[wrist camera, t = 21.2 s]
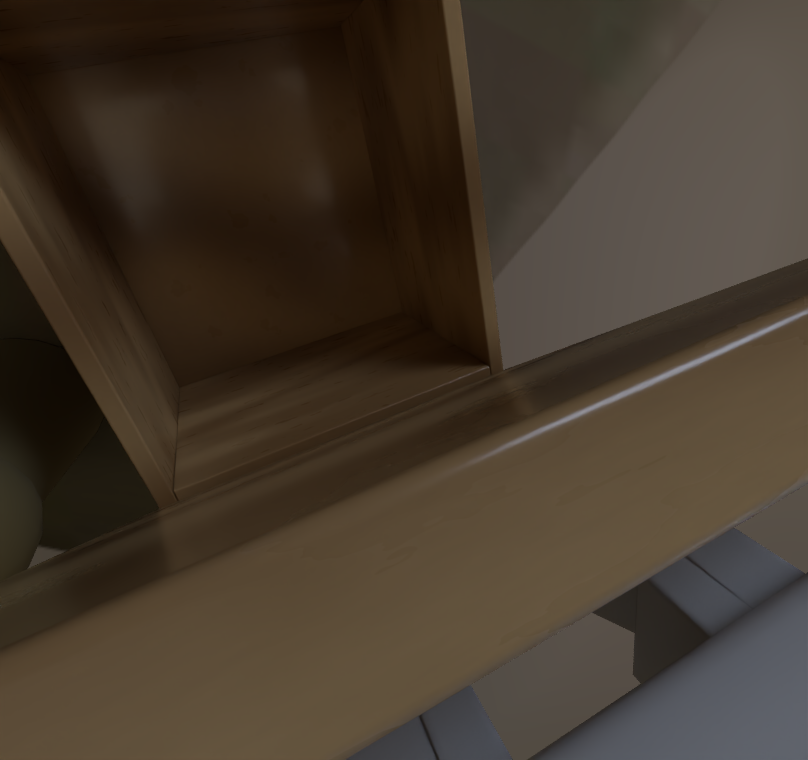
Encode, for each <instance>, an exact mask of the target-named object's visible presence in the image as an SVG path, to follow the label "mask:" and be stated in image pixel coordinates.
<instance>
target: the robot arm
mask: <svg viewBox="0 0 808 760" xmlns="http://www.w3.org/2000/svg"><path fill="white" fill-rule="evenodd" d="M592 613H594V614H596V615H598V616H600V617H602V618H605V619H607V620H609V621H611V622H613V623H615V624H617V625H619V626H621V627H623V628H625V629H628V630H630V631H632V632H634V633H635V640H634V663H633V664H634V665H633V675H634V676H635V677H636V678H637V680H638V681H639V682H640V683H641V684H640V685H639V686H637V687H636V688H634V689H632V690H631V691H629V692H628V693H626V694H625V695H624V696H622V697H620V698H619V699H618V700H616V701H615V702H613V703H611V704H610V705H608V706H607V707H605V708H604V709H602V710H601V711H600V712H598V713H597V714H595V715H594V716H592V717H591V718H589V719H588V720H586V721H585V722H583V723H582V724H580V725H579V726H577V727H576V728H574V729H573V730H571V731H570V732H568V733H567V734H565V735H564V736H562V737H561V738H559V739H558V740H557V741H555V742H553V743H552V744H550V745H549V746H547V747H546V748H544V749H543V750H541V751H540V752H538V753H537V754H535V755H534V756H532V757H531V758H529V759H528V760H808V573H806V574H805V573H803V572H802V571H800V570H799V569H797V568H796V567H794V566H793V565H791V564H790V563H788V562H786V561H785V560H783V559H782V558H780V557H779V556H777V555H776V554H774V553H772V552H771V551H769V550H768V549H766V548H765V547H763V546H762V545H760V544H759V543H757V542H755V541H754V540H752V539H751V538H749V537H748V536H746V535H745V534H743V533H742V532H740V531H738V530H737V529H735V528H733V529H731V530H729V531H728V532H726V533H724V534H723V535H721V536H719V537H718V538H716V539H714V540H713V541H711V542H709V543H708V544H706V545H704V546H703V547H701V548H699V549H698V550H696V551H694V552H692V553H691V554H689V555H687V556H686V557H684V558H682V559H681V560H679V561H677V562H676V563H674V564H672V565H671V566H669V567H667V568H666V569H664V570H662V571H661V572H659V573H657V574H656V575H654V576H652V577H651V578H649V579H647V580H646V581H644V582H642V583H641V584H639V585H637V586H635V587H634V588H632V589H630V590H629V591H627V592H625V593H624V594H622V595H620V596H619V597H617V598H615V599H614V600H612V601H610V602H609V603H607V604H605V605H604V606H602V607H600V608H599V609H597V610H595V611H594V612H592ZM346 760H512V758H511V756H510V754H509V752H508V751H507V749H506V747H505V746H504V744H503V742H502V740H501V738H500V737H499V735H498V733H497V731H496V729H495V728H494V726H493V724H492V722H491V720H490V719H489V717H488V715H487V713H486V712H485V710H484V708H483V706H482V704H481V703H480V701H479V699H478V698H477V696H476V694H475V692H474V691H473V688H472V687H471V685H470V686H468V687H466V688H465V689H463V690H461V691H460V692H458V693H456V694H454V695H453V696H451V697H449V698H448V699H446V700H444V701H443V702H441V703H439V704H438V705H436V706H434V707H433V708H431V709H429V710H428V711H426V712H424V713H423V714H421V715H419V716H418V717H416V718H414V719H413V720H411V721H409V722H408V723H406V724H404V725H403V726H401V727H399V728H398V729H396V730H394V731H392V732H391V733H389V734H387V735H386V736H384V737H382V738H381V739H379V740H377V741H376V742H374V743H372V744H371V745H369V746H367V747H366V748H364V749H362V750H361V751H359V752H357V753H356V754H354V755H352V756H351V757H349V758H347V759H346Z"/></svg>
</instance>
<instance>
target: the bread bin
mask: <svg viewBox="0 0 808 760" xmlns="http://www.w3.org/2000/svg"><path fill="white" fill-rule="evenodd" d="M0 241H1V243H2V244H3V246H4V248H5V249H6V251H7V253H8V255H9V256H10V258H11V260H12V261H13V263H14V265H15V266H16V268H17V270H18V271H19V273H20V275H21V276H22V278H23V280H24V281H25V283H26V285H27V286H28V288H29V290H30V291H31V293H32V295H33V297H34V298H35V300H36V302H37V303H38V305H39V307H40V308H41V310H42V312H43V313H44V315H45V317H46V318H47V320H48V322H49V323H50V325H51V327H52V328H53V330H54V332H55V333H56V335H57V337H58V339H59V340H60V342H61V344H62V345H63V347H64V349H65V350H66V352H67V354H68V355H69V357H70V359H71V360H72V362H73V364H74V365H75V367H76V369H77V370H78V372H79V374H80V375H81V377H82V379H83V381H84V382H85V384H86V386H87V387H88V389H89V391H90V392H91V394H92V396H93V397H94V399H95V401H96V402H97V404H98V406H99V407H100V409H101V411H102V412H103V414H104V416H105V417H106V419H107V421H108V423H109V424H110V426H111V428H112V429H113V431H114V433H115V434H116V436H117V438H118V439H119V441H120V443H121V444H122V446H123V448H124V449H125V451H126V453H127V454H128V456H129V458H130V459H131V461H132V463H133V465H134V466H135V468H136V470H137V471H138V473H139V475H140V476H141V478H142V480H143V481H144V483H145V485H146V486H147V488H148V490H149V491H150V493H151V495H152V496H153V498H154V500H155V501H156V503H157V505H158V507H159V508H162V507H165V506H167V505H170V504H172V503H175V502H177V501H180V500H182V499H185V498H187V497H190V496H192V495H195V494H197V493H200V492H202V491H205V490H207V489H210V488H212V487H215V486H217V485H220V484H222V483H225V482H227V481H230V480H232V479H234V478H237V477H239V476H242V475H244V474H247V473H249V472H252V471H254V470H257V469H259V468H262V467H264V466H267V465H269V464H272V463H274V462H277V461H279V460H282V459H284V458H287V457H289V456H292V455H294V454H297V453H299V452H302V451H304V450H307V449H309V448H312V447H314V446H316V445H319V444H321V443H324V442H326V441H329V440H331V439H334V438H336V437H339V436H341V435H344V434H346V433H349V432H351V431H354V430H356V429H359V428H361V427H364V426H366V425H369V424H371V423H374V422H376V421H379V420H381V419H384V418H386V417H389V416H391V415H394V414H396V413H398V412H401V411H403V410H406V409H408V408H411V407H413V406H416V405H418V404H421V403H423V402H426V401H428V400H431V399H433V398H436V397H438V396H441V395H443V394H446V393H448V392H451V391H453V390H456V389H458V388H461V387H463V386H466V385H468V384H471V383H473V382H475V381H478V380H480V379H483V378H485V377H488V376H490V375H493V374H495V373H498V372H500V371H503V365H502V356H501V348H500V339H499V330H498V323H497V313H496V305H495V297H494V288H493V279H492V270H491V262H490V253H489V245H488V236H487V228H486V219H485V210H484V202H483V193H482V185H481V176H480V168H479V159H478V150H477V142H476V133H475V125H474V116H473V108H472V99H471V90H470V82H469V73H468V65H467V56H466V48H465V39H464V31H463V22H462V13H461V5H460V0H0Z"/></svg>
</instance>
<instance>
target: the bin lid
mask: <svg viewBox="0 0 808 760" xmlns="http://www.w3.org/2000/svg"><path fill="white" fill-rule="evenodd" d="M806 484H808V259H805V260H802V261H799V262H797V263H794V264H791V265H789V266H786V267H783V268H780V269H778V270H775V271H772V272H769V273H767V274H764V275H761V276H759V277H756V278H753V279H751V280H748V281H745V282H742V283H739V284H737V285H734V286H731V287H729V288H726V289H723V290H721V291H718V292H715V293H712V294H710V295H707V296H704V297H702V298H699V299H696V300H693V301H691V302H688V303H685V304H682V305H680V306H677V307H674V308H671V309H669V310H666V311H663V312H660V313H658V314H655V315H652V316H650V317H647V318H644V319H641V320H639V321H636V322H633V323H631V324H628V325H625V326H622V327H620V328H617V329H614V330H612V331H609V332H606V333H604V334H601V335H598V336H595V337H593V338H590V339H587V340H584V341H582V342H579V343H576V344H573V345H571V346H568V347H565V348H563V349H560V350H557V351H554V352H552V353H549V354H546V355H543V356H541V357H538V358H535V359H532V360H530V361H527V362H524V363H522V364H519V365H516V366H514V367H511V368H508V369H505V370H503V371H500V372H498V373H495V374H493V375H490V376H488V377H485V378H483V379H480V380H478V381H475V382H473V383H471V384H468V385H466V386H463V387H461V388H458V389H456V390H453V391H451V392H448V393H446V394H443V395H441V396H438V397H436V398H433V399H431V400H428V401H426V402H423V403H421V404H418V405H416V406H413V407H411V408H408V409H406V410H403V411H401V412H398V413H396V414H394V415H391V416H389V417H386V418H384V419H381V420H379V421H376V422H374V423H371V424H369V425H366V426H364V427H361V428H359V429H356V430H354V431H351V432H349V433H346V434H344V435H341V436H339V437H336V438H334V439H331V440H329V441H326V442H324V443H321V444H319V445H316V446H314V447H312V448H309V449H307V450H304V451H302V452H299V453H297V454H294V455H292V456H289V457H287V458H284V459H282V460H279V461H277V462H274V463H272V464H269V465H267V466H264V467H262V468H259V469H257V470H254V471H252V472H249V473H247V474H244V475H242V476H239V477H237V478H234V479H232V480H230V481H227V482H225V483H222V484H220V485H217V486H215V487H212V488H210V489H207V490H205V491H202V492H200V493H197V494H195V495H192V496H190V497H187V498H185V499H182V500H180V501H177V502H175V503H172V504H170V505H167V506H165V507H162V508H160V509H158V510H155V511H153V512H151V513H149V514H147V515H144V516H142V517H140V518H138V519H136V520H134V521H131V522H129V523H127V524H125V525H123V526H120V527H118V528H116V529H114V530H112V531H110V532H107V533H105V534H103V535H101V536H99V537H96V538H94V539H92V540H90V541H88V542H85V543H83V544H81V545H79V546H77V547H75V548H72V549H70V550H68V551H66V552H64V553H62V554H59V555H57V556H55V557H53V558H51V559H48V560H46V561H44V562H42V563H40V564H37V565H35V566H33V567H31V568H29V569H26V570H24V571H22V572H20V573H18V574H15V575H13V576H11V577H9V578H7V579H5V580H2V581H0V760H346V759H347V758H349V757H351V756H352V755H354V754H356V753H357V752H359V751H361V750H362V749H364V748H366V747H367V746H369V745H371V744H372V743H374V742H376V741H377V740H379V739H381V738H382V737H384V736H386V735H387V734H389V733H391V732H392V731H394V730H396V729H398V728H399V727H401V726H403V725H404V724H406V723H408V722H409V721H411V720H413V719H414V718H416V717H418V716H419V715H421V714H423V713H424V712H426V711H428V710H429V709H431V708H433V707H434V706H436V705H438V704H439V703H441V702H443V701H444V700H446V699H448V698H449V697H451V696H453V695H454V694H456V693H458V692H460V691H461V690H463V689H465V688H466V687H468V686H470V685H471V684H473V683H475V682H476V681H478V680H480V679H481V678H483V677H484V676H486V675H488V674H490V673H491V672H493V671H495V670H496V669H498V668H499V667H501V666H503V665H505V664H506V663H508V662H510V661H511V660H513V659H515V658H517V657H518V656H520V655H521V654H523V653H525V652H527V651H528V650H530V649H532V648H533V647H535V646H537V645H538V644H540V643H542V642H543V641H545V640H547V639H548V638H550V637H552V636H553V635H555V634H557V633H558V632H560V631H562V630H563V629H565V628H567V627H568V626H570V625H572V624H573V623H575V622H576V621H578V620H580V619H582V618H584V617H585V616H587V615H589V614H590V613H592V612H594V611H595V610H597V609H599V608H600V607H602V606H604V605H605V604H607V603H609V602H610V601H612V600H614V599H615V598H617V597H619V596H620V595H622V594H624V593H625V592H627V591H629V590H630V589H632V588H634V587H635V586H637V585H639V584H641V583H642V582H644V581H646V580H647V579H649V578H651V577H652V576H654V575H656V574H657V573H659V572H661V571H662V570H664V569H666V568H667V567H669V566H671V565H672V564H674V563H676V562H677V561H679V560H681V559H682V558H684V557H686V556H687V555H689V554H691V553H692V552H694V551H696V550H698V549H699V548H701V547H703V546H704V545H706V544H708V543H709V542H711V541H713V540H714V539H716V538H718V537H719V536H721V535H723V534H724V533H726V532H728V531H729V530H731V529H733V528H734V527H736V526H738V525H739V524H741V523H743V522H744V521H746V520H748V519H749V518H751V517H753V516H754V515H756V514H758V513H759V512H761V511H763V510H764V509H766V508H768V507H770V506H771V505H773V504H775V503H776V502H778V501H780V500H781V499H783V498H785V497H786V496H788V495H789V494H791V493H793V492H795V491H796V490H798V489H800V488H801V487H803V486H805V485H806Z"/></svg>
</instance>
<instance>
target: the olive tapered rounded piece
mask: <svg viewBox="0 0 808 760" xmlns="http://www.w3.org/2000/svg"><path fill="white" fill-rule="evenodd" d="M103 417H104V414H103V412H102V411H101V409H100V407H99V406H98V404H97V402H96V401H95V399H94V397H93V396H92V394H91V392H90V391H89V389H88V387H87V386H86V384H85V382H84V381H83V379H82V377H81V375H80V374H79V372H78V370H77V369H76V367H75V365H74V364H73V362H72V360H71V359H70V357H69V355H68V354H67V352H66V350H64V349H62V348H59V347H56V346H53V345H50V344H47V343H44V342H41V341H38V340H26V339H13V338H9V339H3V340H0V581H2V580H5V579H7V578H9V577H11V576H13V575H15V574H18V573H20V572H22V571H24V570H26V569H27V568H28V567H29V565H30V562H31V560H32V558H33V556H34V553H35V551H36V549H37V546H38V544H39V542H40V539H41V536H42V534H43V521H42V502H43V501H44V500H45V498H46V497H47V496H48V494H49V493H50V492H51V490H52V489H53V488H54V487H55V485H56V484H57V483H58V481H59V480H60V479H61V478H62V476H63V475H64V474H65V472H66V471H67V470H68V469H69V467H70V466H71V465H72V463H73V462H74V461H75V459H76V458H77V457H78V456H79V454H80V453H81V452H82V450H83V449H84V448H85V447H86V445H87V444H88V443H89V441H90V440H91V439H92V438H93V436H94V435H95V434H96V432H97V431H98V429H99V427H100V424H101V422H102V420H103Z"/></svg>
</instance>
